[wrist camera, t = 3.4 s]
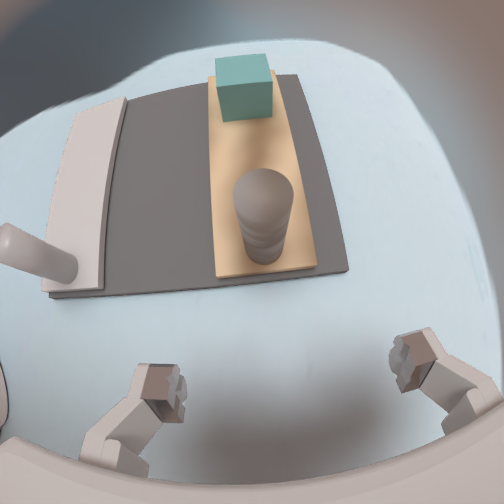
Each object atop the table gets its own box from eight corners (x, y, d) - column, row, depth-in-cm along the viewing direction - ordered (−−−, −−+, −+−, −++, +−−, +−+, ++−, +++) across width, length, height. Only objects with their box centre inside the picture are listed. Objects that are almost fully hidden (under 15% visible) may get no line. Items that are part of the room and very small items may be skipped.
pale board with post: (47, 292, 23) (-23, 272, 13) (79, 118, 29) (45, 72, 20) (103, 288, 23) (28, 263, 13) (127, 101, 29) (98, 46, 20)
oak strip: (218, 278, 23) (184, 241, 13) (209, 82, 29) (195, 17, 19) (315, 267, 22) (349, 223, 13) (274, 75, 29) (274, 9, 19)
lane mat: (54, 298, 24) (48, 297, 23) (84, 120, 31) (81, 116, 30) (345, 272, 23) (349, 269, 23) (296, 79, 30) (296, 74, 29)
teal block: (223, 122, 26) (216, 87, 21) (221, 92, 27) (215, 58, 22) (272, 117, 26) (272, 81, 21) (265, 87, 27) (265, 53, 22)
